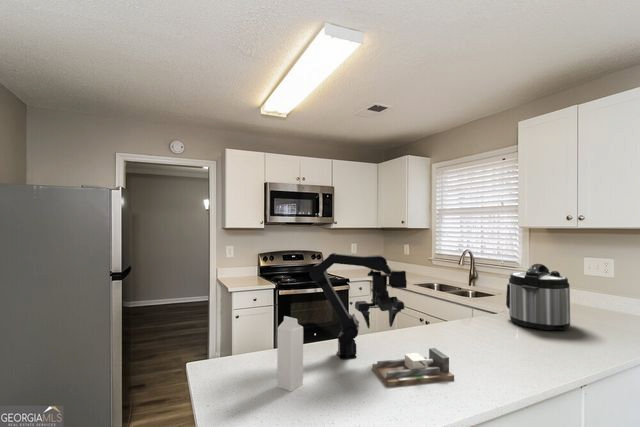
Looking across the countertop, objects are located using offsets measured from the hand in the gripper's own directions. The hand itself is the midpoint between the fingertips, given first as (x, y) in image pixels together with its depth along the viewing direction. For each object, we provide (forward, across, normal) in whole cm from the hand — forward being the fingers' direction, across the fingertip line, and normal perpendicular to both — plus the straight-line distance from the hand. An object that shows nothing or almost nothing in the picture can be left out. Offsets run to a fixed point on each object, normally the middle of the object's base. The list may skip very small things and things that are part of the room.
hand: (379, 327), depth 132 cm
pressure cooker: (+12, +99, +26) cm, 103 cm away
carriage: (+10, +9, -17) cm, 22 cm away
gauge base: (+12, +6, -15) cm, 20 cm away
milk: (+12, -37, -15) cm, 42 cm away
